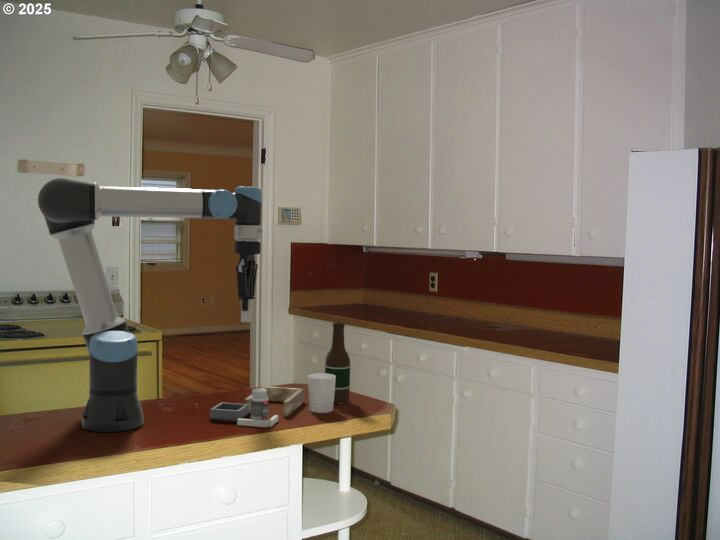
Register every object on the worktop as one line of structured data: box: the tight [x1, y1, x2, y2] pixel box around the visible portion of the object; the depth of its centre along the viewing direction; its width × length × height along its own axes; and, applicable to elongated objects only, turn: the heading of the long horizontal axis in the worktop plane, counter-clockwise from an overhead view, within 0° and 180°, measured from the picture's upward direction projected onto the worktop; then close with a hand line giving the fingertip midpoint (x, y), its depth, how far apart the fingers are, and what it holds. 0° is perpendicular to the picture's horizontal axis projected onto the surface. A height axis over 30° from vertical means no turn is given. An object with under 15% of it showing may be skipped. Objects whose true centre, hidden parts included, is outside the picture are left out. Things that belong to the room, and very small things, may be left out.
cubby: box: [244, 385, 305, 417], centre depth 210 cm, size 12×18×4 cm
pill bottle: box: [249, 388, 269, 421], centre depth 195 cm, size 5×5×8 cm
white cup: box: [307, 372, 336, 414], centre depth 208 cm, size 8×8×10 cm
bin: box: [209, 402, 250, 423], centre depth 198 cm, size 8×8×3 cm
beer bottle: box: [324, 321, 351, 405], centre depth 220 cm, size 8×8×24 cm
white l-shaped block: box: [236, 414, 279, 428], centre depth 193 cm, size 9×7×2 cm
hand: (246, 321), depth 211 cm, fingers closed
